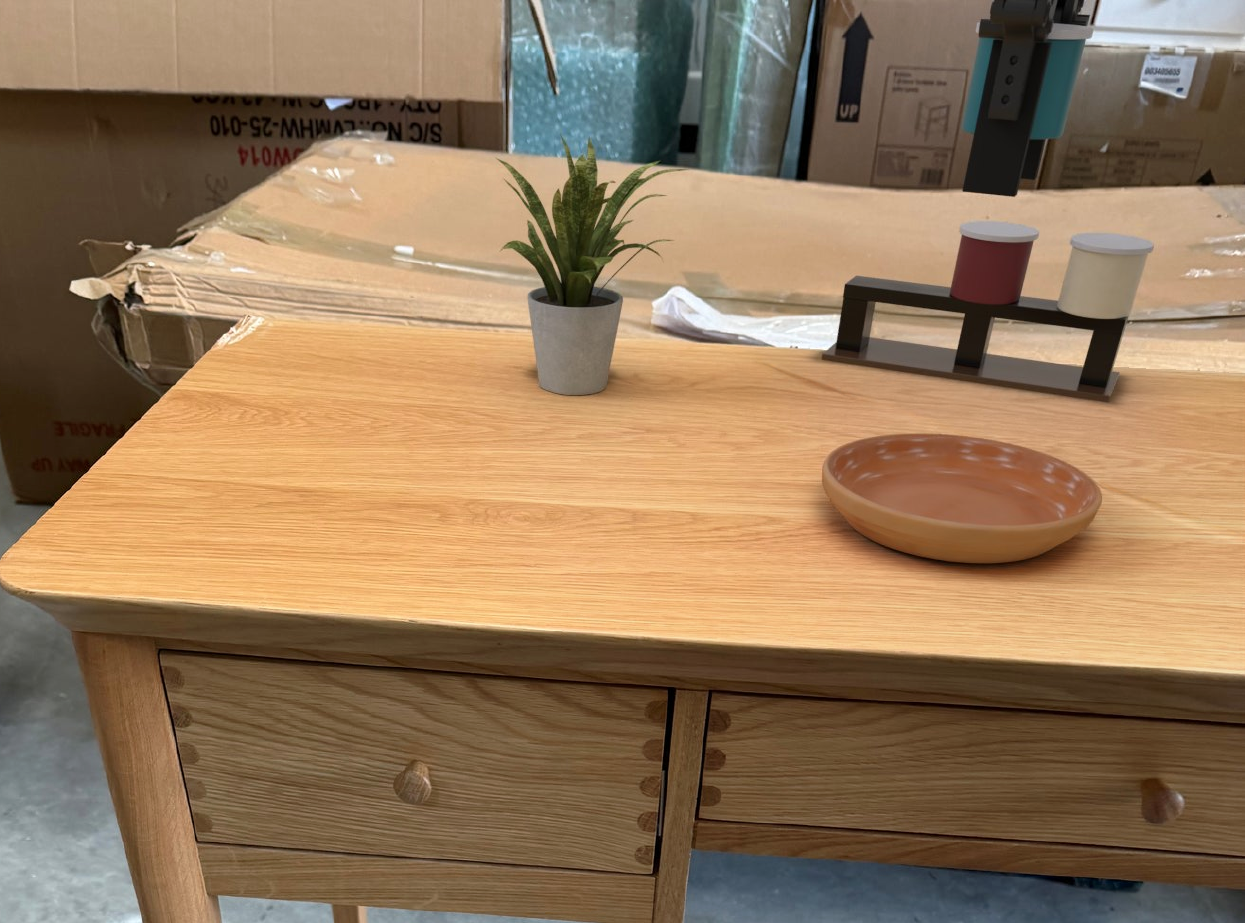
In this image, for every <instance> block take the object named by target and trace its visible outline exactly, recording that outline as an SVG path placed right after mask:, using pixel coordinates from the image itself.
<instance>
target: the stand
mask: <svg viewBox="0 0 1245 923" xmlns="http://www.w3.org/2000/svg"><path fill="white" fill-rule="evenodd" d="M950 289H951V286H944V285H937V284H928V283H920V282H919V283H918V282H911V281H903V280H894V279H888V278H887V279H886V278H879V277H871V276H863V275H855V276H854V277H852V278H851V279H849V280H848V281H846V282H845V283H844V286H843V293H842V303H841V310H840V316H839V323H838V329H837V335H836V342H834V343H833V344H832V345H830V347H829V348H827V349H826V350H825V351H824V352H823V353H822V354H821V360H822V361H826V362H834V363H841V364H846V365H853V366H861V367H867V368H872V369H873V368H874V369H880V370H886V371H894V372H899V373H900V372H901V373H907V374H913V375H914V374H915V375H921V376H926V377H927V376H928V377H934V378H940V379H946V380H947V379H948V380H954V381H960V382H966V383H968V382H969V383H974V384H981V385H988V386H994V387H1000V388H1008V389H1015V390H1021V391H1027V392H1028V391H1029V392H1034V393H1041V394H1048V395H1054V396H1062V397H1069V398H1073V399H1074V398H1075V399H1081V400H1089V401H1096V402H1103V403H1109V402H1110V398H1111V396H1112V394H1113V391H1114V389H1115V386H1116V384H1117V382H1118V379H1119V376H1120V372H1119V371H1114V366H1115V363H1116V360H1117V356H1118V354H1119V350H1120V347H1121V343H1122V340H1123V337H1124V334H1125V330H1126V327H1127V324H1128V320H1129V316H1130V315H1129V316H1127V317H1123V318H1117V319H1098V318H1088V317H1082V316H1077V315H1072V314H1069V313H1066V312H1063V311H1061V310H1060V309H1058V307H1057V304H1058V300H1056V299H1049V298H1048V299H1046V298H1040V297H1039V298H1038V297H1031V296H1024V295H1021V296H1020V299H1019V301H1017V302H1015V303H1011V304H1002V305H991V304H979V303H972V302H967V301H963V300H960V299H957V298H955V297H953V296H951V295H950ZM876 303H881V304H888V305H896V306H903V307H909V308H910V307H912V308H918V309H925V310H934V311H941V312H948V313H957V314H964V317H963V321H962V326H961V330H960V334H959V339H958V344H957V348H950V347H943V346H936V345H928V344H921V343H913V342H906V341H902V340H901V341H900V340H893V339H886V338H880V337H871V332H872V326H873V321H874V315H875V309H876ZM996 319H1002V320H1011V321H1017V322H1018V321H1019V322H1025V323H1026V322H1027V323H1033V324H1040V325H1048V326H1057V327H1063V328H1070V329H1078V330H1086V331H1092V335H1091V338H1090V341H1089V345H1088V349H1087V352H1086V356H1085V359H1084V363H1083V366H1077V365H1070V364H1064V363H1056V362H1049V361H1042V360H1036V359H1035V360H1034V359H1028V358H1021V357H1014V356H1006V355H999V354H992V353H988V350H989V345H990V342H991V336H992V332H993V328H994V324H995V320H996Z"/></svg>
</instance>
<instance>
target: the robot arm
mask: <svg viewBox="0 0 1245 923" xmlns="http://www.w3.org/2000/svg"><path fill="white" fill-rule="evenodd" d="M1085 1H1086V0H993V1H992V2H991V6H990V10H989V18H980V21H979V22H980V26H979V33H978V39H979V38H994V40H993V44H992V49H991V54H990V59H989V64H988V68H987V73H986V78H985V83H984V88H983V93H982V98H981V103H980V107H979V112H978V117H977V122H976V127H975V132H974V134H973V137H972V142H971V147H970V151H969V157H968V162H967V167H966V172H965V175H964V176H965V177H964V182H963V184H962V185H963V186H962V193H972V194H980V195H981V194H982V195H989V196H990V195H991V196H992V195H993V196H1001V197H1011V198H1016V196H1017V195H1018V192H1019V188H1020V185H1021V184H1020V183H1021V180H1030V181H1031V180H1032V181H1035V180H1037V178H1038V175H1039V170H1040V166H1041V162H1042V157H1043V153H1044V149H1045V145H1046V141H1047V139H1030V136H1031V132H1032V127H1033V123H1034V119H1035V114H1036V110H1037V106H1038V101H1039V97H1040V93H1041V88H1042V84H1043V80H1044V75H1045V71H1046V67H1047V62H1048V58H1049V54H1050V49H1051V45H1052V42H1046V40H1047V37H1048V35H1049V33H1051V31H1052V28H1053V23H1057V24H1070V25H1080V26H1087V27H1088V24H1089V21H1090V16H1091V14H1084V13H1083V14H1080V13H1081V11H1082V8H1084V5H1085ZM1039 41H1044V42H1039Z"/></svg>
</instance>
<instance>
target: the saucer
mask: <svg viewBox="0 0 1245 923" xmlns="http://www.w3.org/2000/svg"><path fill="white" fill-rule="evenodd" d="M821 468H822V469H821V484H822V489H823V491H824V493H825V495H826V496H827V497H828V498H829V500H830V502H831V503H832V505H833V507H834V508H835V509H836V510H837V512H839V513H840V514H841V516H842V517H843V518H844V520H845V521H846V522H847V524H848V525H850V527H851V528H853V529H854V530H855V531H857V532H858V533H859V534H860V535H862V536H863V537H865V538H867V539H869V540H870V541H873V542H875V543H877V544H880V545H881V546H883V547H886V548H890V549H892V550H895V551H899V552H902V553H905V554H909V555H912V556H917V557H922V558H927V559H932V560H938V561H945V562H951V563H952V562H953V563H963V564H964V563H965V564H1003V563H1011V562H1018V561H1019V562H1020V561H1023V560H1028V559H1032V558H1035V557H1038V556H1041V555H1042V554H1045V553H1047V552H1048V551H1051V550H1052V549H1054V548H1055V547H1058V545H1061V544H1063V543H1066V542H1068V541H1069V540H1071V539H1072V538H1073V537H1075V536H1076V535H1077V534H1080V533H1081V532H1083V531H1084V530H1086V529H1087V528H1088V527H1089V526H1090V525H1091V524H1092V523H1093V521H1094V519H1095V517H1096V515H1097V514H1098V511H1099V510H1100V508H1101V505H1102V501H1103V495H1102V490H1101V489H1100V487H1099V485H1098V484H1097V483H1096V481H1094V479H1093V478H1092V477H1091V476H1090V475H1088V474H1087V473H1086V472H1085V471H1083V470H1081V469H1079V468H1077V467H1076V466H1074V465H1072V464H1070V463H1069V462H1066V461H1064V460H1062V459H1060V458H1057V457H1056V456H1053V455H1050V454H1047V453H1045V452H1041V451H1039V450H1036V449H1032V448H1029V447H1026V446H1023V445H1018V444H1013V443H1009V442H1004V441H1000V440H996V439H990V438H982V437H977V436H976V437H975V436H968V435H966V436H965V435H960V434H959V435H958V434H949V433H948V434H947V433H921V432H919V433H918V432H917V433H916V432H915V433H896V434H895V433H894V434H892V433H891V434H883V435H876V436H870V437H865V438H861V439H856V440H853V441H850V442H847V443H844V444H842V445H840V446H839V447H836V448H835V449H834V450H832V451H831V452H830V453H829V454H828V455H827V456H826V457H825V459H824V461H823V464H822V467H821Z"/></svg>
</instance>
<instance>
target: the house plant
mask: <svg viewBox="0 0 1245 923" xmlns="http://www.w3.org/2000/svg"><path fill="white" fill-rule="evenodd" d="M559 135H560V138H561V141H562V144H563V148H564V152H565V156H566V161H567V167H568V175H569V178H568V179H567V180H566V181H565V183H564V185H563V189H562V193H561V191H560V188H558V189H556V191H555V193H554V195H553V198H552V202H551V203H552V204H551V215H552V220H553V224H554V230H553V228H552V225H551V222H550V219H549V216H548V214H547V211H546V209H545V207H544V205H543V203H542V201H541V199H540V198H539V195H538V194H537V192H536V190H535V189H534V187H533V186H532V184H531V183H530V182H529V181H528V180H527V179H526V177H525V176H523V175H522V173H520V172H519V171H518V170H517V169H515V167H513V166H512V165H511V164H509V162H507V161H505V160H502V159H500V158H497V157H495V159H496V160H497V161H498V162H500V163H501V164H502V165H503V166H504V167H505V168H506V169H507V170H508V172H509V173H510V174H511V175H512V177H513V178H514V180H515V181H516V183H517V185H518V187H519V188H520V190H521V192H522V193H523V195H524V197H523V196H522V194H521V193H520V191H519V190H518V189H517V188H516V187H515V186H514V185H512V184H511V183H510V182H509V181H508V180H506V179H505V178H503V181H505V183H506V184H507V185H508V187H510V188H511V189H512V190H513V191H514V192H515V193H516V195H517V196H518V197H519V198H520V200H521V202H522V203H523V205H524V206H525V208H526V209H527V210H528V211H529V213H530V214H531V216H532V217H533V219H534V220H535V222H536V224H537V226H538V228H539V229H540V232H541V234H542V236H543V239H544V240H545V243H546V245H547V248H548V250H549V252H550V254H551V257H552V258H553V260H554V263H555V265H556V267H557V270H558V273H559V276H560V278H559V276H558V275H557V271H556V269H555V266H554V263H553V261H552V260H551V257H550V256H549V254H548V252H547V250H546V248H545V247H544V244H543V241H542V240H541V238H540V237H539V235H538V233H537V231H536V228H535V226H534V224H533V222H532V221H530V220H528V219H527V220H526V221H527V223H526V225H527V238H528V240H529V243H530V244H531V245H530V244H527V243H526V242H523V241H520V240H510V241H508V242H506V244H504V245H503V246H502V247H501V249H500V250H499V252H502V251H503V250H509V249H510V250H511V249H512V250H514V251H515V252H516V253H518V254H520V255H521V256H522V257H523V258H524V259H525V260H526V261H528V263H530V264H531V265H532V266H533V267H534V268H535V270H536V272H537V273H538V275H539V277H540V278H541V281H542V283H543V287H537V288H535V289H532V290H531V291H529V292H528V293H527V306H528V311H529V319H530V326H531V333H532V334H531V335H532V342H533V350H534V356H535V363H536V370H537V377H538V385H539V387H541V389H543V390H545V391H548V392H551V393H554V394H558V395H566V396H586V395H593V394H597V393H600V392H602V391H604V390H605V389H606V388H607V385H608V379H609V375H610V369H611V364H612V359H613V353H614V348H615V345H616V344H615V343H616V339H617V333H618V329H619V323H620V320H621V319H620V318H621V315H622V314H621V313H622V308H623V303H624V296H623V295H622V294H621V293H619V292H617V291H615V290H613V289H609V288H605V287H606V285H608V283H609V282H610V281H611V280H612V279H613V278H614V277H615V276H616V275H617V274H618V273H619V272H620V271H621V270H622V269H623V268H624V267H625V266H626V265H627V264H628V263H629V262H630V261H631V260H632V259H633V258H634V257H635V256H636V255H638V254H639V253H640V252H642V251H643V250H644V249H645V250H647V251H651V252H652V253H654V254H656V255H658V257H660V258H661V260H662V262H663V263H664V258H663V257H662V256H661V255H660V253H659V252H658V251H656V250H654V249H653V248H651V247H650V246H651V245H652V244H655V243H658V242H659V243H660V242H672V241H674V239H664V238H663V239H657V240H653V241H651V242H649V243H646V244H642V243H635V242H634V243H627V244H625V240H624V239H618V238H616V237H617V236H618V234H619V233H620V232H621V230H622V229H623V228H624V227H625V225H628V224H630V223H632V222H634V219H632V220H626V221H625V220H624V219H625V218H626V216H627V215H628V214H629V212H630V211H631V210H632V209H634V208H635V207H636V206H637V205H638V204H640V203H641V202H643V201H644V200H646V199H649V198H655V197H668V195H666V194H660V193H659V194H658V193H654V194H653V193H652V194H649V195H648V194H647V195H645V196H643V197H640V198H639V199H638V200H637V201H635V202H634V203H633V204H632V205H631V206H630V207H629V208H628V210H627V211H626V212H625V214H624V215H623V217H622V218H621V220H620V221H619V222H618V223H617V224H616V225H614V226H613V224H614V223H615V220H616V218H617V216H618V215H619V212H621V209H622V207H623V206H624V205H625V204H626V202H627V201H628V200H629V198H630V197H631V196H632V195H633V194H634V193H635V192H636V191H637V190H638V189H639V188H640V187H642V186H643V185H645V184H646V183H647V182H648V181H650V180H652V179H654V178H655V177H657V176H660V175H662V174H666V173H672V172H681V171H689V170H690V168H688V169H687V168H669V169H662V170H659V171H656V172H654V173H651V174H649V175H647V176H646V177H644V178H641V177H642V175H643V174H644V173H645V172H646V171H647V170H648V169H649V168H651V167H654V166H655V165H657V164H658V163H659V162H660V160H657V161H653V162H650V163H647V164H644V165H642V166H640V167H638V168H636V169H635V170H634V171H632V172H631V173H630V174H628V176H626V178H624V180H623V181H622V182H621V183H620V184H619V185H618V186H617V188H616V189H615V191H613V193H612V194H611V196H610V197H607V198H605V194H606V191H607V188H608V186H609V184H616V181H614V180H610V181H608V182H601V183H599V184H598V173H599V172H598V171H599V170H598V165H597V158H596V152H595V147H594V145H593V142H592V140H591V137H590V135H589V136H588V138H587V149H586V157H585V155H584V153H583V154H581V155H580V156H579V157H578V158H577V160H576V162H575V163H574V161H573V158H572V155H571V151H570V149H569V147H568V146H569V145H568V144H567V142H566V140H565V139H564V137H563V136H562V135H561V134H559ZM525 199H526V200H525ZM604 204H605V205H604ZM603 206H604V208H603ZM602 209H603V211H602ZM601 211H602V212H601ZM600 214H601V215H600ZM599 216H600V217H599ZM598 218H599V219H598ZM623 220H624V221H623ZM554 231H555V232H554ZM621 243H622V245H621V246H619V245H620V244H621ZM617 246H618V247H617ZM636 248H637V249H638V248H640V249H639V250H637V251H636V253H634V254H633V255H632V256H631V257H630V258H628V260H627V261H625V263H624V264H623V265H622V266H620V268H619V269H618V270H617V271H615V273H614V274H613V275H612V276H611V277H610V278H609V279H608V280H607V281H606V282H605V284H604V285H602V287H599V286H595V284H596V282H597V280H598V278H599V277H600V275H601V273H602V271H603V270H604V268H605V266H606V265H607V264H609V263H611V262H612V260H613V259H614V257H616V256H617V255H618V254H619V253H622V252H624V251H626V250H627V249H636Z"/></svg>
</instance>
